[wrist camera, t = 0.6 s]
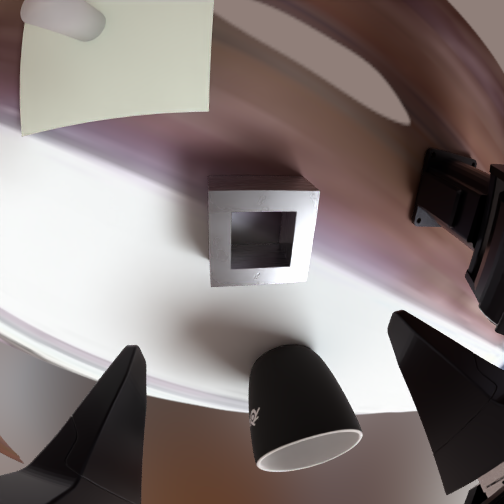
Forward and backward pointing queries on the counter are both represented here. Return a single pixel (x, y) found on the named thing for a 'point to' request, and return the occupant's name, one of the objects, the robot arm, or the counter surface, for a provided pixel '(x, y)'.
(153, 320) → the counter surface
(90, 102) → the peg board
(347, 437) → the mug
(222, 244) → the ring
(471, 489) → the robot arm
